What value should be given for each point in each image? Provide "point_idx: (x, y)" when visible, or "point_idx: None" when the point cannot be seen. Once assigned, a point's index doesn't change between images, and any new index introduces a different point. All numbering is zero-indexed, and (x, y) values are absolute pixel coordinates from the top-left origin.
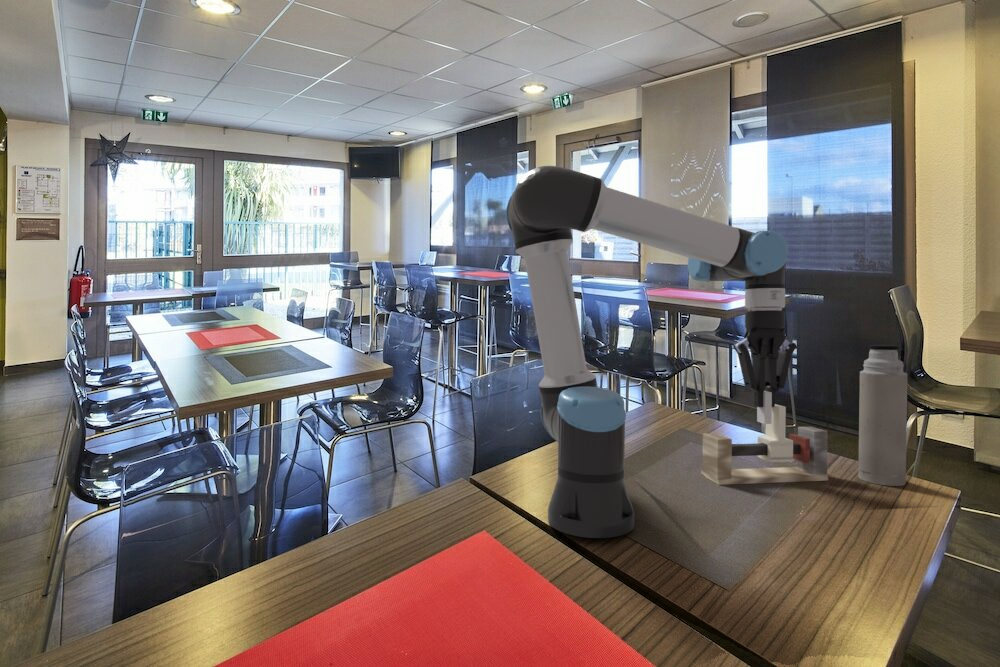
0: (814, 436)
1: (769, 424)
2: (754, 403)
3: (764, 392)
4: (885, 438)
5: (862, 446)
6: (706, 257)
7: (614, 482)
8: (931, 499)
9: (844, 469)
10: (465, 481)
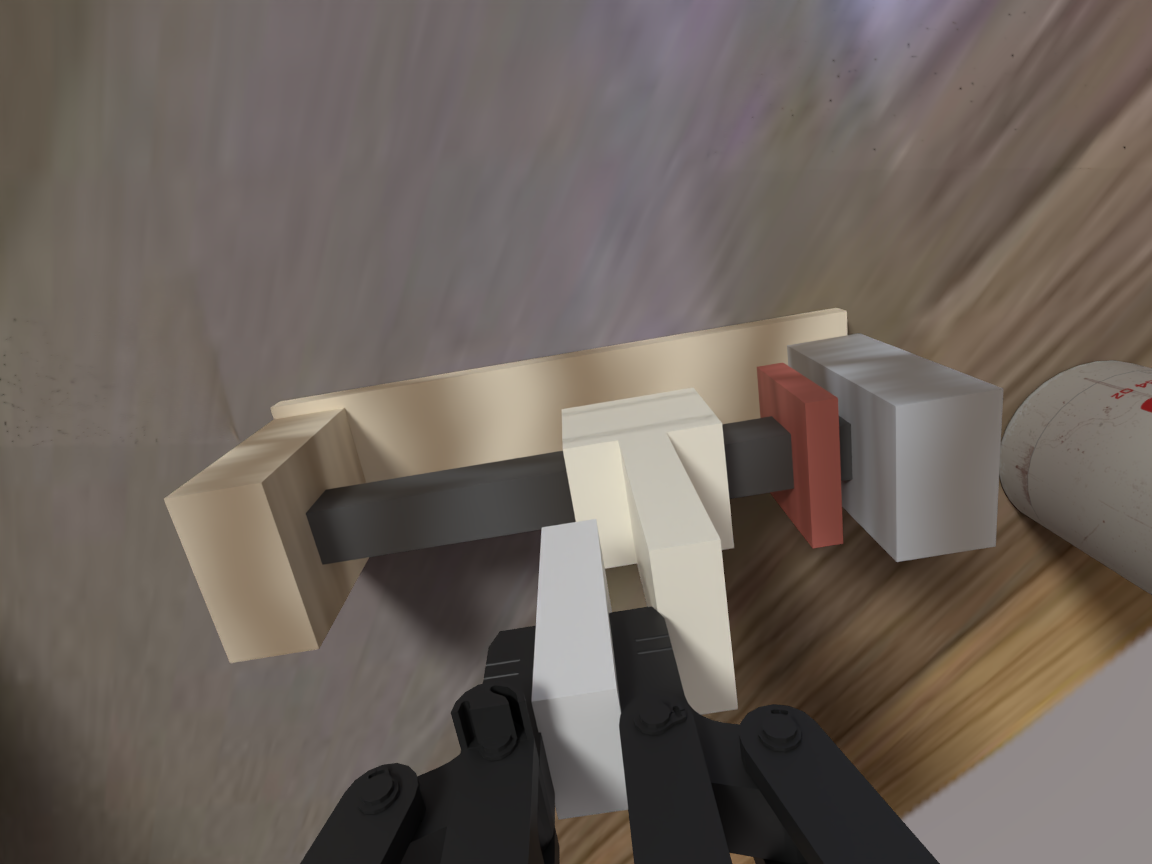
0: (882, 545)
1: (634, 519)
2: (489, 658)
3: (556, 809)
4: None
5: (1127, 513)
6: None
7: None
8: (1048, 661)
9: (1071, 259)
10: None
